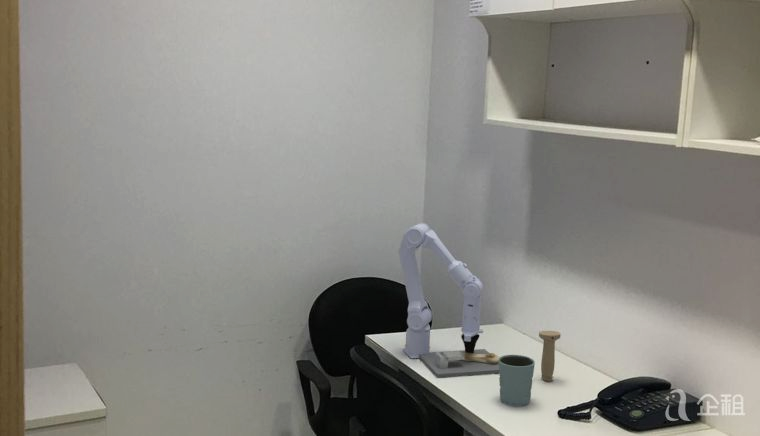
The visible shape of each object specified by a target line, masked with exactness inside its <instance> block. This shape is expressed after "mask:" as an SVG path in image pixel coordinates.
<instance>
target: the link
mask: <svg viewBox="0 0 760 436" xmlns="http://www.w3.org/2000/svg"><path fill="white" fill-rule="evenodd" d="M448 351H449V352H452V351H453V350H448ZM461 353H462V354H463V355H464V356H465V358H464V360H465V361H475V362H486V363H489V364H497V363H498V360H499V358H500V356H499V355H498V354H495V353H493V352H491V353H490V352H489V353H490V354H488V355H486V354H476V353H465V352H461Z"/></svg>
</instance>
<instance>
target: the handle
mask: <svg viewBox="0 0 760 436" xmlns="http://www.w3.org/2000/svg"><path fill="white" fill-rule="evenodd" d="M538 336H539V338H540V339H541V340H543V346H542V354H541V364H540V365H541V366H540V367H541V368H540V370H541V371H540V372H541V380H542V381H543V382H552V381H553V378H554V376H553V375H554V373H555V362H556V361H555V360H556V359H555V356H556V355H555V351H556V350H555V349H556V348H555V344H556V341H557V340H559V339H561V336H562V335H561V333H560V332H558V331H555V330H541V331H539V333H538Z"/></svg>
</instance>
